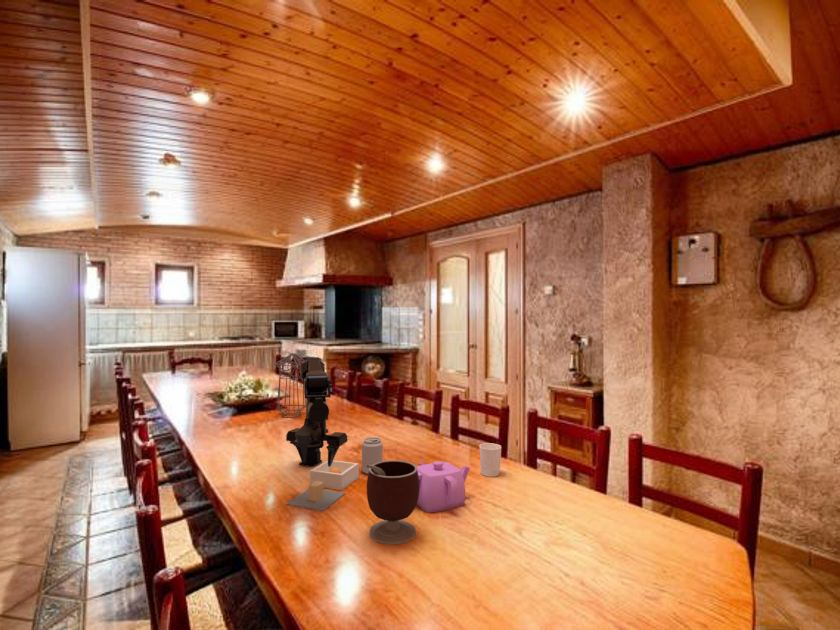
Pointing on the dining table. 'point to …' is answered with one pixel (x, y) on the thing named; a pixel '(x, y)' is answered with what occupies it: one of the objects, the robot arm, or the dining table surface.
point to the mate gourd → (392, 500)
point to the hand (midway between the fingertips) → (316, 464)
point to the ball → (335, 470)
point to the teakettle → (441, 486)
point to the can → (371, 452)
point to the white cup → (490, 459)
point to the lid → (316, 497)
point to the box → (335, 474)
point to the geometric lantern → (289, 384)
